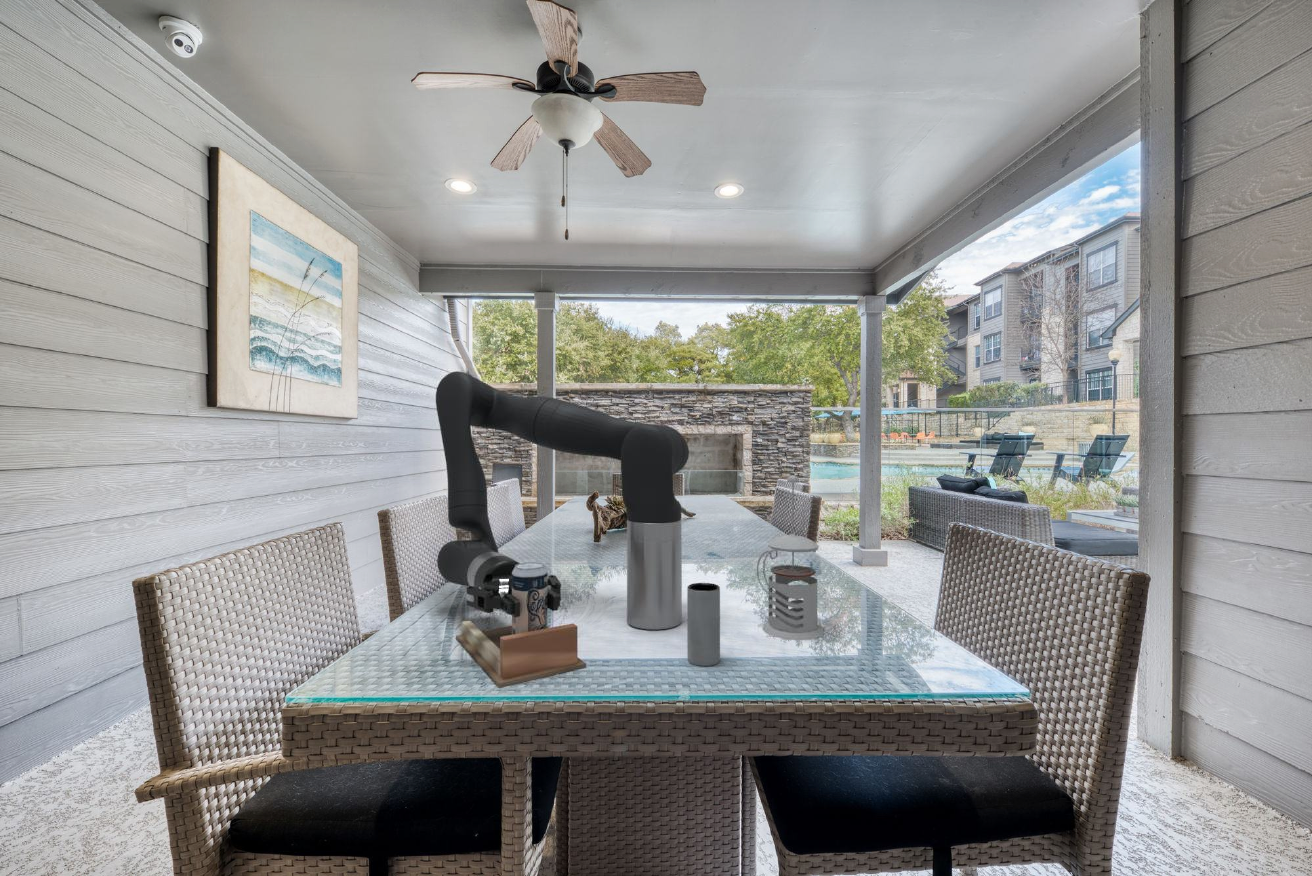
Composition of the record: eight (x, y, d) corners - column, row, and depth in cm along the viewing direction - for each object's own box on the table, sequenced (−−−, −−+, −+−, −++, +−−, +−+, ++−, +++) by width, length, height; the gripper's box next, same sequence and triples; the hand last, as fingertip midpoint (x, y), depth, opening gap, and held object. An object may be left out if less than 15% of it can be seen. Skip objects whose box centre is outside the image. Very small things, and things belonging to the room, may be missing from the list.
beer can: (539, 660, 78) (539, 570, 78) (505, 657, 79) (505, 568, 79) (552, 647, 82) (552, 562, 82) (520, 644, 83) (521, 560, 83)
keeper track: (455, 638, 91) (455, 603, 91) (530, 625, 97) (530, 592, 97) (498, 687, 73) (498, 643, 73) (586, 667, 80) (586, 626, 80)
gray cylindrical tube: (723, 656, 83) (723, 584, 83) (715, 668, 79) (715, 592, 79) (692, 652, 85) (692, 581, 85) (683, 664, 81) (683, 589, 81)
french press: (800, 644, 88) (800, 478, 88) (741, 626, 97) (741, 474, 97) (836, 630, 95) (836, 475, 95) (777, 614, 103) (777, 472, 103)
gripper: (450, 560, 89) (483, 585, 74) (540, 550, 96) (586, 571, 82) (450, 610, 89) (483, 644, 74) (540, 596, 96) (585, 625, 82)
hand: (537, 606), depth 78 cm, fingers closed on beer can, 4 cm apart
